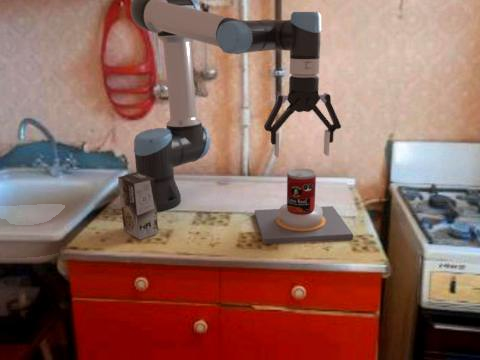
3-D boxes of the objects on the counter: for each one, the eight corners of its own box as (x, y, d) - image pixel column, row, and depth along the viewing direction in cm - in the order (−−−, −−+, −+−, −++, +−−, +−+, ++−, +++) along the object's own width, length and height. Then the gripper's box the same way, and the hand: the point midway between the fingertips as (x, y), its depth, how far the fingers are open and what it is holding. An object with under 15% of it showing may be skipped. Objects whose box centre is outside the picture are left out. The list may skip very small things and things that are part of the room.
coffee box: (159, 233, 134) (155, 178, 129) (139, 240, 130) (133, 183, 125) (142, 223, 141) (138, 171, 135) (122, 230, 137) (117, 176, 131)
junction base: (254, 214, 145) (254, 199, 144) (332, 210, 147) (333, 195, 146) (263, 244, 126) (263, 226, 125) (352, 239, 128) (353, 221, 127)
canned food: (282, 212, 134) (282, 174, 130) (293, 203, 140) (293, 166, 137) (308, 217, 130) (309, 178, 127) (318, 207, 137) (319, 170, 133)
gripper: (257, 78, 119) (257, 160, 126) (356, 76, 121) (350, 157, 128) (254, 74, 126) (253, 152, 133) (347, 72, 128) (342, 149, 135)
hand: (301, 155), depth 130 cm, fingers open, 13 cm apart
